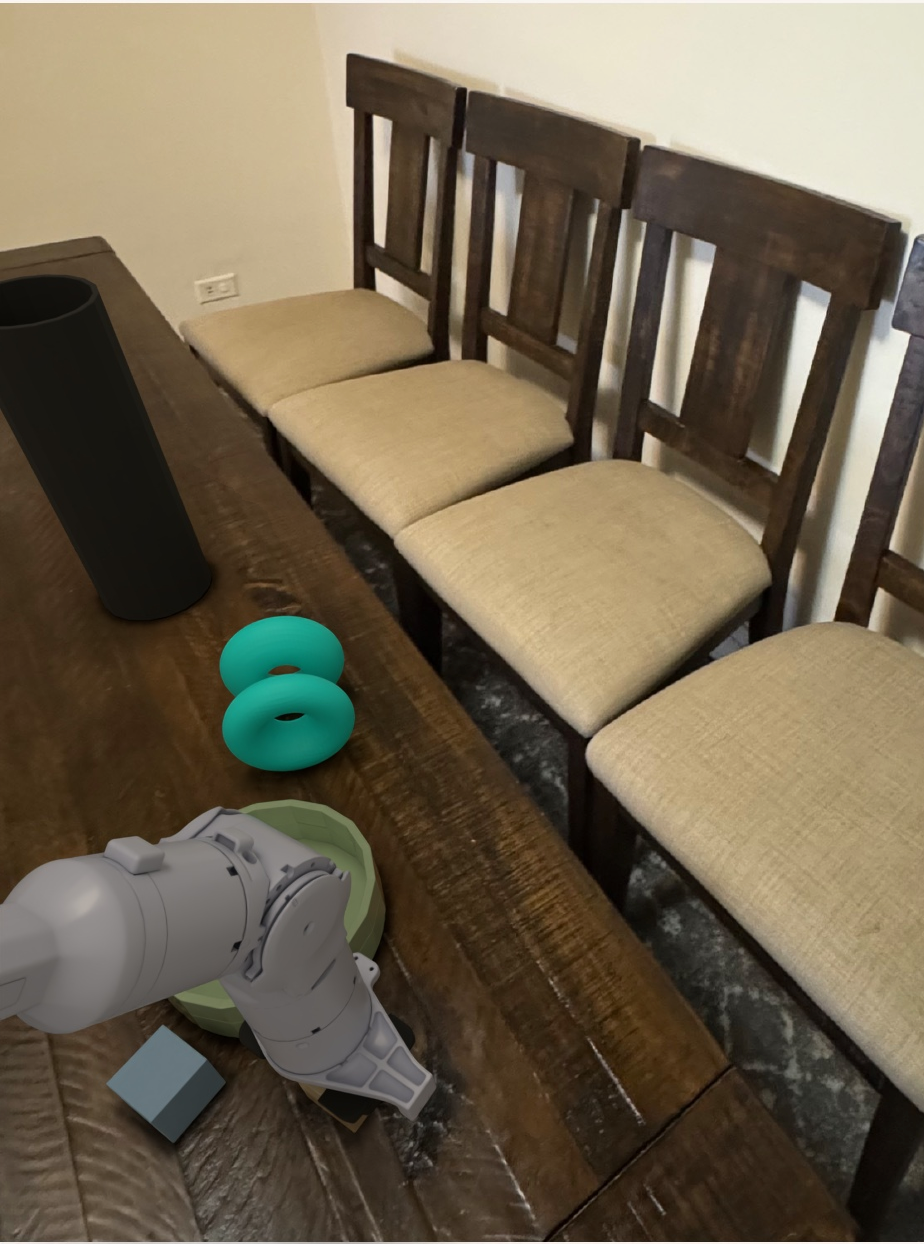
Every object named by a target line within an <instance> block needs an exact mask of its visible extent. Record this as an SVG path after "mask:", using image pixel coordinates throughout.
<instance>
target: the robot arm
mask: <svg viewBox="0 0 924 1244" xmlns="http://www.w3.org/2000/svg"><path fill="white" fill-rule="evenodd" d="M238 810H239V809H234V808H224V807H223V806H220V805H219V806H216V807H213V808H211V809H209V810H207V811H205V812H203V813H201V814H200V815H198V816H197V817H195V818H194V819H193V820H192V821H190V822H189V823H187V824H186V825H185V826H184V827H183V828H182V829H181V830H180V831H178V832H177V833H175V834H173V835H171V836H168V837H161V838H160V839H159V842H158V843H156V844H155V843H154V844H152V843H150V842H149V841H147V840H145V839H144V838H142V837H140V836H137V835H134V836H126V837H120V838H119V837H118V838H113V839H112V838H111V840H109V841H108V842H107V844H106V847H105V850H104V852H98V853H92V854H86V855H80V856H74V857H68V858H61V859H55V860H51V861H48V862H46V863H43V864H41V865H40V866H37V867H36V868H34V869H33V870H31V871H30V872H29V873H27V874H26V875H25V876H24V877H23V878H22V879H21V880H20V881H19V882H17V884H16V885H15V886H14V887H13V888H12V890H11V891H10V893H9V894H8V895H7V897H6V898H5V899H4V901H3V903H1V904H0V1022H1V1021H3V1020H7V1019H8V1018H10V1017H13V1016H15V1015H16V1017H17V1018H18V1019H20V1020H21V1021H22V1022H24V1023H25V1024H26V1025H27V1026H30V1027H32V1028H33V1029H36V1030H38V1031H40V1032H43V1033H46V1034H52V1035H53V1034H54V1035H68V1034H74V1033H76V1032H79V1031H81V1030H84V1029H87V1028H89V1027H92V1026H95V1025H98V1024H101V1023H103V1022H107V1021H109V1020H112V1019H115V1018H117V1017H119V1016H122V1015H125V1014H127V1013H131V1012H132V1011H135V1010H138V1009H140V1008H144V1007H146V1006H148V1005H151V1004H154V1003H157V1002H160V1001H163V1000H165V999H168V997H170V996H173V995H176V994H178V993H181V992H184V991H187V990H189V989H192V988H195V987H197V986H200V985H203V984H206V983H208V982H211V981H214V980H217V979H218V980H219V982H220V984H221V985H222V987H223V988H224V989H225V991H226V993H227V994H228V996H229V997H230V998H231V1000H232V1001H233V1003H234V1004H235V1006H236V1007H237V1009H238V1010H239V1012H240V1013H241V1015H242V1016H243V1017H244V1019H245V1020H244V1022H243V1023H242V1024H241V1027H240V1029H239V1038H238V1039H239V1042H240V1044H241V1045H242V1046H243V1047H245V1048H246V1049H248V1050H249V1051H250V1052H251V1053H253V1054H254V1055H256V1056H257V1057H258V1058H259V1059H261V1060H267V1062H268V1063H269V1065H270V1067H272V1069H273V1070H274V1071H275V1072H276V1073H277V1074H279V1075H280V1076H281V1077H283V1078H285V1079H287V1080H289V1081H292V1082H296V1083H298V1082H301V1083H305V1084H310V1085H314V1086H319V1087H324V1088H327V1089H326V1090H325V1091H324V1092H323V1094H322V1095H321V1096H320V1098H319V1099H318V1103H319V1104H321V1105H322V1106H323V1107H325V1108H326V1109H327V1110H329V1111H330V1112H331V1113H333V1114H334V1115H335V1116H336V1117H338V1118H339V1119H341V1120H342V1121H345V1122H348V1123H352V1124H354V1123H356V1122H357V1121H358V1120H359V1119H360V1118H361V1116H362V1115H368V1116H372V1115H373V1114H374V1113H375V1111H376V1110H377V1108H378V1106H380V1105H381V1102H382V1101H383V1102H386V1103H389V1104H391V1105H393V1106H395V1107H397V1108H398V1111H399V1112H400V1114H402V1115H403V1116H404V1117H406V1119H408V1120H410V1121H411V1122H414V1121H415V1120H416V1118H417V1117H418V1115H419V1114H420V1113H421V1111H423V1109H424V1107H425V1106H426V1105H427V1103H428V1101H429V1100H430V1099H431V1097H432V1096H433V1094H434V1093H435V1091H436V1089H437V1084H436V1080H435V1078H434V1075H433V1074H432V1072H430V1071H429V1070H427V1069H426V1068H425V1067H424V1066H423V1065H422V1064H421V1063H420V1062H418V1060H417V1059H416V1058H415V1057H414V1055H413V1053H412V1052H411V1051H412V1049H413V1047H414V1045H415V1044H416V1036H415V1032H414V1030H413V1028H412V1027H411V1026H410V1025H409V1024H408V1023H406V1022H404V1021H403V1020H401V1019H400V1018H399V1017H397V1016H396V1015H394V1014H393V1013H391V1012H390V1013H387V1011H386V1010H385V1008H384V1007H383V1005H382V1004H381V1002H380V1000H379V999H378V997H377V996H376V994H375V992H374V990H373V988H374V985H375V984H376V983H377V981H378V980H379V978H380V976H381V970H380V967H379V965H378V964H377V963H376V962H375V961H373V959H372V960H370V959H369V958H367V957H366V956H364V955H363V954H361V953H358V952H357V953H352V951H351V949H350V946H349V944H348V941H347V939H346V936H347V931H346V929H345V926H344V914H345V910H346V907H347V904H348V901H349V897H350V892H351V874H350V871H349V870H348V871H346V872H345V873H344V875H343V871H342V870H340V869H338V868H337V867H336V864H335V863H334V862H332V861H331V859H329V858H328V857H326V856H324V855H322V854H320V853H318V852H317V851H315V850H313V849H311V848H309V847H308V846H306V845H304V844H302V843H300V842H298V841H297V840H295V839H293V838H291V837H289V836H288V835H286V834H284V833H282V832H280V831H278V830H277V829H275V828H273V827H271V826H269V825H267V824H266V823H264V822H262V821H261V820H259V819H257V818H255V817H253V816H251V815H248V814H243V813H242V812H240V811H238Z"/></svg>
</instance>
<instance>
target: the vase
mask: <svg viewBox="0 0 924 1244" xmlns="http://www.w3.org/2000/svg"><path fill="white" fill-rule="evenodd" d="M0 411H1V413H2V415H3V417H4V419H5V421H6V423H7V424H8V426H9V429H10V430H11V432H12V433H13V435H14V438H15V439H16V441H17V443H18V445H19V447H20V449H21V450H22V453H23V454H24V456H25V458H26V460H27V462H28V464H29V466H30V468H31V469H32V471H33V473H34V476H35V477H36V479H37V481H38V483H39V485H40V487H41V488H42V491H43V492H44V495H45V496H46V498H47V500H48V501H49V504H50V506H51V508H52V509H53V511H54V514H55V515H56V517H57V518H58V520H59V523H60V524H61V526H62V528H63V530H64V533H65V534H66V536H67V537H68V540H69V541H70V543H71V545H72V547H73V549H74V550H75V553H76V555H77V556H78V558H79V560H80V562H81V564H82V566H83V568H84V570H85V572H86V573H87V575H88V577H89V580H90V581H91V583H92V585H93V587H94V588H95V591H96V593H97V594H98V597H99V598H100V599H101V603H103V605H104V608H105V609H107V611H109V612H110V613H111V614H112V615H113V616H115V617H118V618H122V619H125V620H129V621H152V620H157V619H161V618H166V617H167V618H168V617H170V616H172V615H175V614H177V613H179V612H182V611H184V610H186V609H188V608H189V607H190V606H192V605H193V604H194V603H196V602H197V601H199V600H200V599H202V597H203V596H204V594H205V593H206V592H207V591H208V589H209V588H210V585H211V580H212V576H213V574H212V572H211V570H210V567H209V565H208V561H207V560H206V556H205V554H204V552H203V549H202V546H201V545H200V542H199V539H198V537H197V535H196V531H195V529H194V527H193V524H192V522H191V519H190V517H189V514H188V512H187V508H186V507H185V504H184V501H183V500H182V497H181V494H180V492H179V489H178V487H177V484H176V481H175V479H174V477H173V474H172V471H171V469H170V466H169V464H168V461H167V459H166V456H165V454H164V452H163V449H162V446H161V444H160V442H159V438H158V436H157V434H156V432H155V429H154V426H153V424H152V421H151V419H150V416H149V414H148V411H147V408H146V406H145V404H144V401H143V399H142V395H141V394H140V391H139V389H138V386H137V383H136V381H135V379H134V375H133V374H132V371H131V369H130V366H129V363H128V361H127V359H126V356H125V354H124V351H123V349H122V345H121V344H120V341H119V339H118V336H117V333H116V331H115V327H114V326H113V323H112V321H111V318H110V316H109V314H108V311H107V308H106V306H105V303H104V301H103V298H102V296H101V293H100V291H99V288H98V286H97V284H96V283H94V282H92V281H91V280H88V279H87V278H85V277H80V276H76V275H70V274H54V273H53V274H49V273H48V274H47V273H45V274H44V273H43V274H34V275H26V276H25V275H24V276H19V277H13V278H9V279H5V280H0Z"/></svg>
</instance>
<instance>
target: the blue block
mask: <svg viewBox="0 0 924 1244" xmlns="http://www.w3.org/2000/svg"><path fill="white" fill-rule="evenodd" d="M226 1084H227V1081H226V1080H225V1079H224V1077H222V1075H221V1074H220V1073H219V1071H218V1070H217V1069H216V1068H215V1067H214V1065H213V1064H212V1063H211V1061H209V1060H208V1059H207V1058H206V1057H205V1056H204V1055H202V1054H201V1053H200V1052H199V1051H198V1050H196V1049H195V1048H193V1047H192V1046H191V1045H190V1044H189V1043H188V1042H186V1041H185V1040H183V1039H182V1038H181V1037H180V1036H179V1035H177V1034H176V1033H175V1032H173V1030H171V1029H170V1028H168V1027H167V1026H166V1025H165V1024H162V1025H161V1026H160V1027H159V1028H158V1029H156V1031H155V1032H154V1033H153V1034H152V1035H151V1036H150V1037H149V1038H148V1039H147V1040H146V1041H145V1042H144V1043H143V1044H142V1045H141V1046H140V1047H139V1049H137V1051H136V1052H134V1054H133V1055H132V1056H131V1057H130V1058H129V1059H128V1060H127V1061H126V1062H125V1063H124V1064H123V1065H122V1066H121V1067H120V1068H119V1069H118V1071H117V1072H116V1073H114V1075H112V1077H111V1078H110V1079H109V1080H108V1081H107V1082H106V1083H105V1085H106V1086H107V1088H109V1089H110V1090H111V1091H113V1092H114V1094H116V1095H117V1096H118V1097H119V1098H120V1099H121V1100H123V1101H124V1103H126V1104H127V1105H128V1107H130V1108H131V1109H132V1110H133V1111H135V1112H136V1113H137V1114H138V1115H140V1117H142V1118H143V1119H144V1120H145V1121H146V1122H148V1123H149V1124H150V1125H151V1126H152V1127H153V1128H154V1129H156V1130H157V1131H158V1132H159V1133H161V1134H162V1135H163V1136H164V1137H165V1138H166V1139H167V1140H169V1141H170V1142H171V1143H172V1144H174V1143H175V1142H177V1141H178V1139H179V1138H180V1137H181V1135H182V1134H183V1133H184V1132H185V1131H186V1129H187V1128H189V1126H190V1125H191V1124H192V1123H193V1121H195V1119H196V1118H197V1117H198V1116H199V1115H200V1114H201V1112H202V1111H203V1110H204V1109H205V1108H206V1107H207V1105H208V1104H209V1103H210V1102H211V1101H212V1100H213V1098H214V1097H215V1096H216V1095H217V1094H218V1093H219V1091H221V1089H222V1088H223V1087H224V1085H226Z"/></svg>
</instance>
